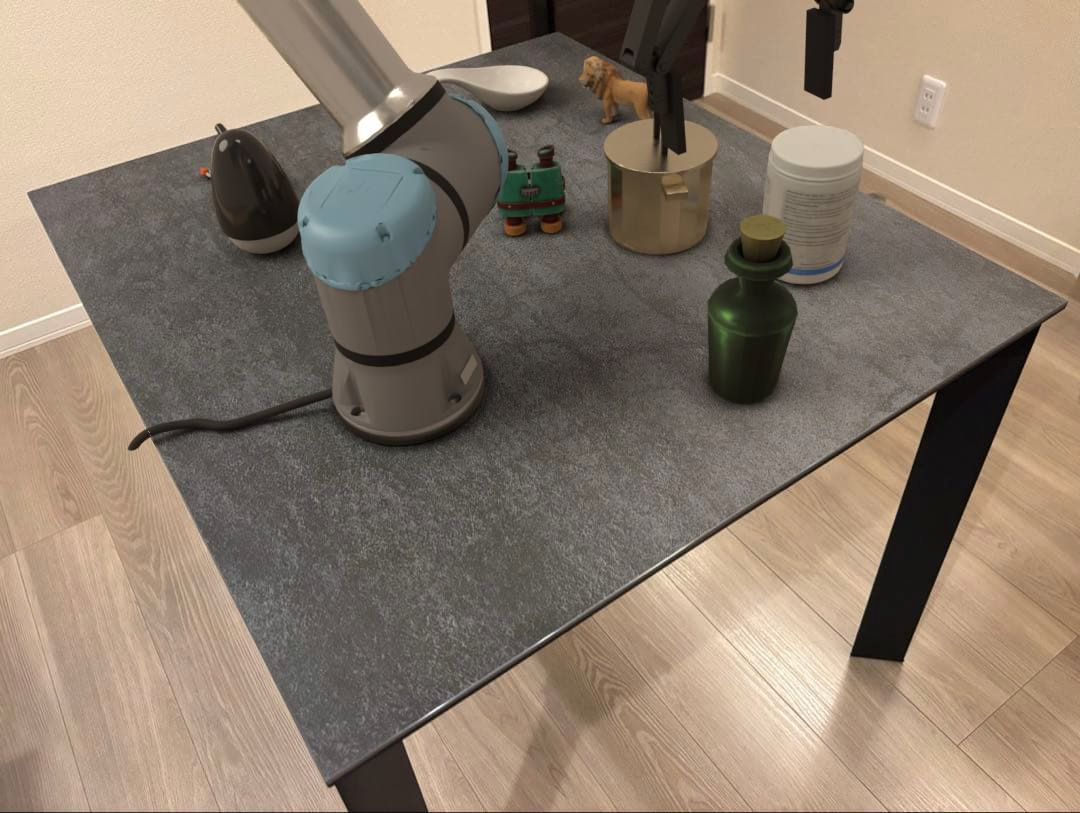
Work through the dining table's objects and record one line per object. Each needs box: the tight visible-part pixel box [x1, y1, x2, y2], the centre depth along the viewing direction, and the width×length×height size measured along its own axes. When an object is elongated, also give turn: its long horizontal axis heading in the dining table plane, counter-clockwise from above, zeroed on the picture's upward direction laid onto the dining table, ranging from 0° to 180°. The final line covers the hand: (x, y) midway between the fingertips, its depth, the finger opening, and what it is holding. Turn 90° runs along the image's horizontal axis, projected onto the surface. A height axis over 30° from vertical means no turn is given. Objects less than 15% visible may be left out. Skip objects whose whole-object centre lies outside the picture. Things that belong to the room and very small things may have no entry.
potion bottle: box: [706, 214, 799, 405], centre depth 76 cm, size 8×8×18 cm
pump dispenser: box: [210, 122, 301, 255], centre depth 101 cm, size 10×10×15 cm
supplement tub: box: [761, 124, 865, 285], centre depth 90 cm, size 10×10×15 cm
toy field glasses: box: [496, 144, 566, 237], centre depth 103 cm, size 9×11×10 cm
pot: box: [606, 159, 714, 256], centre depth 99 cm, size 12×17×10 cm
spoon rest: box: [426, 64, 550, 112], centre depth 126 cm, size 24×12×7 cm, turn 114°
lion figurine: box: [578, 55, 654, 124], centre depth 119 cm, size 15×5×9 cm, turn 55°
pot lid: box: [603, 112, 719, 177], centre depth 93 cm, size 13×13×7 cm
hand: (747, 120), depth 68 cm, fingers open, 13 cm apart
